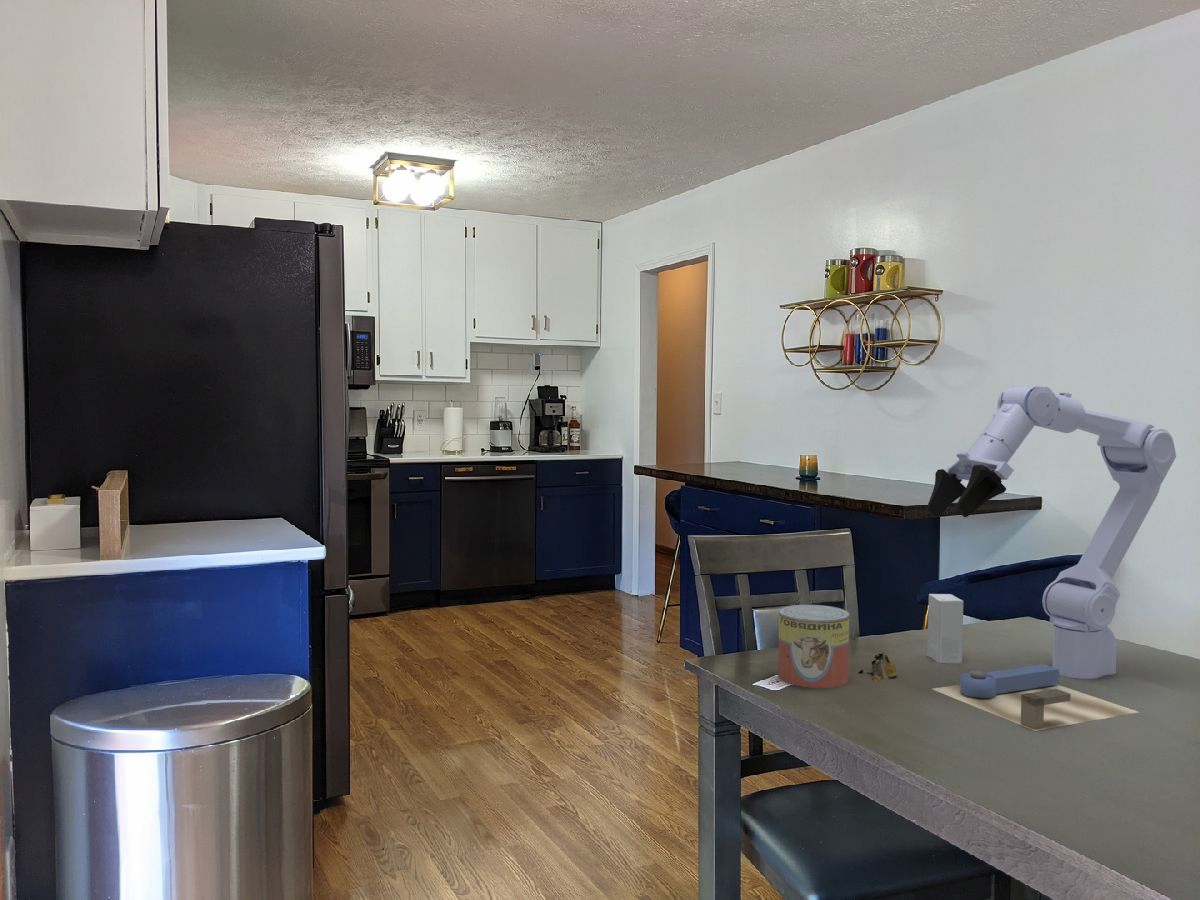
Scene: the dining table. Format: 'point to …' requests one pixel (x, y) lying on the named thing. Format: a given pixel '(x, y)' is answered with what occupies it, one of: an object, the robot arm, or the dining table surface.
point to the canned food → (813, 646)
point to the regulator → (882, 667)
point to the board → (1054, 714)
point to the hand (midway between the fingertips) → (945, 513)
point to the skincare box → (945, 628)
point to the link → (1007, 680)
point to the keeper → (1039, 706)
